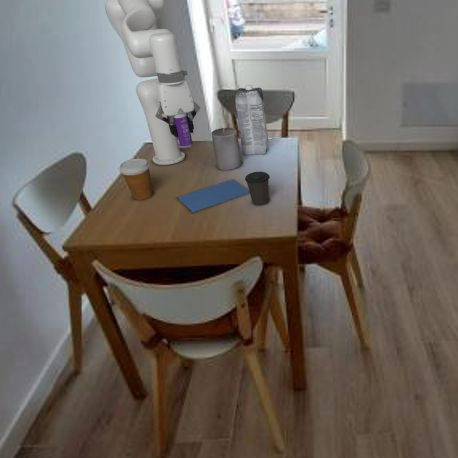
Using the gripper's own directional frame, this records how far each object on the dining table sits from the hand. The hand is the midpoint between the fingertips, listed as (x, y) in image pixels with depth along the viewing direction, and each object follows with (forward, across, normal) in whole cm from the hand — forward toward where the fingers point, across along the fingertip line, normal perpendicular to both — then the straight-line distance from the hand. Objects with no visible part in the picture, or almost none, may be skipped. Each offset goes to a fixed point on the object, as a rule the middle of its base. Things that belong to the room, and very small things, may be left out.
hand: (183, 133), depth 142 cm
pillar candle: (+21, -19, -11) cm, 30 cm away
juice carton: (+21, -34, -16) cm, 43 cm away
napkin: (+21, -3, +9) cm, 23 cm away
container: (+4, 0, 0) cm, 4 cm away
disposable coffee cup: (+21, +16, -8) cm, 28 cm away
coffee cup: (+21, -13, +23) cm, 34 cm away
